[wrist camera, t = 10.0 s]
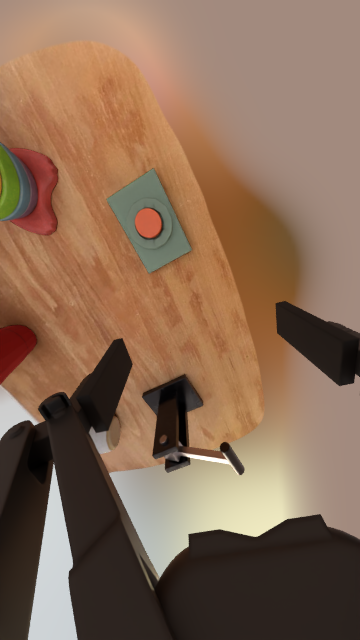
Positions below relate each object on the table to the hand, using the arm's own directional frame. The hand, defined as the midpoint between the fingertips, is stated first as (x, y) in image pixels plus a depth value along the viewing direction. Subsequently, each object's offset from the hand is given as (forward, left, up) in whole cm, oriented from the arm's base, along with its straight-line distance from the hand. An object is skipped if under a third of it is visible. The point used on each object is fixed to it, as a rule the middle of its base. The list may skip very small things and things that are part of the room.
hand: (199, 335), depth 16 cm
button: (+10, -6, -16) cm, 20 cm away
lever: (-13, +19, -7) cm, 24 cm away
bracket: (-11, +23, -20) cm, 32 cm away
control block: (+10, -6, -20) cm, 23 cm away
